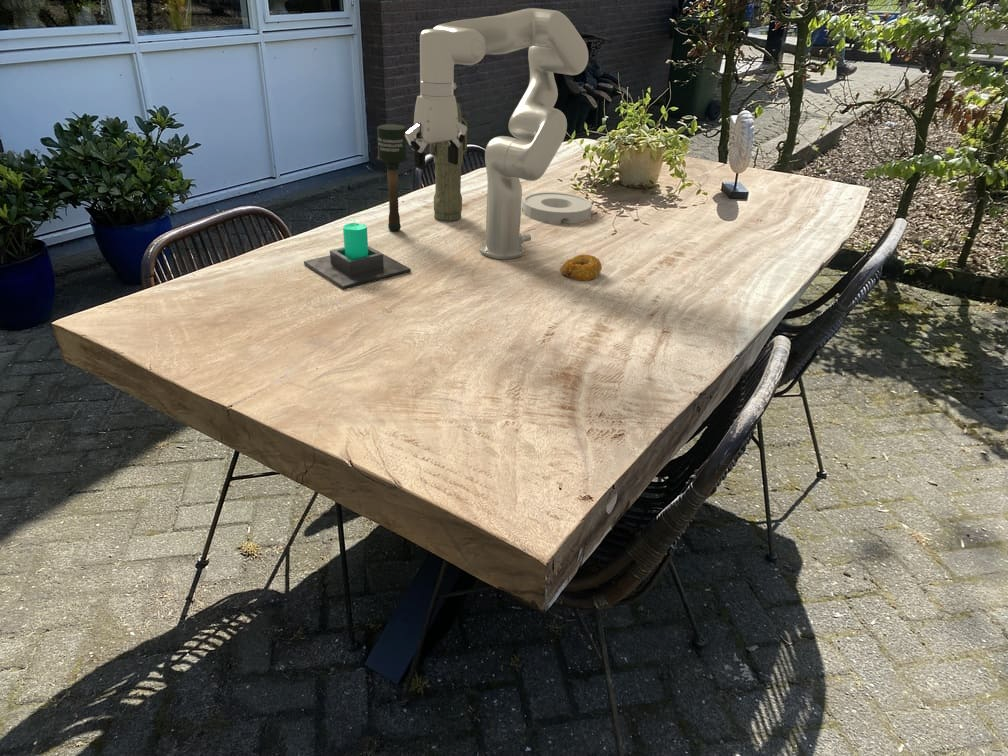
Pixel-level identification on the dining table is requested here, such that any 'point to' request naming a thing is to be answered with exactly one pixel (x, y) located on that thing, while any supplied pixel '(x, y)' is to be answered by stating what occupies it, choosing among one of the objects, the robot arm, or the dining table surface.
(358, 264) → the socket holder
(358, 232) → the candle
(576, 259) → the bagel
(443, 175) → the olive green tall cylinder
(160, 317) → the dining table surface
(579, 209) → the grey round base
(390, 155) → the grenade
